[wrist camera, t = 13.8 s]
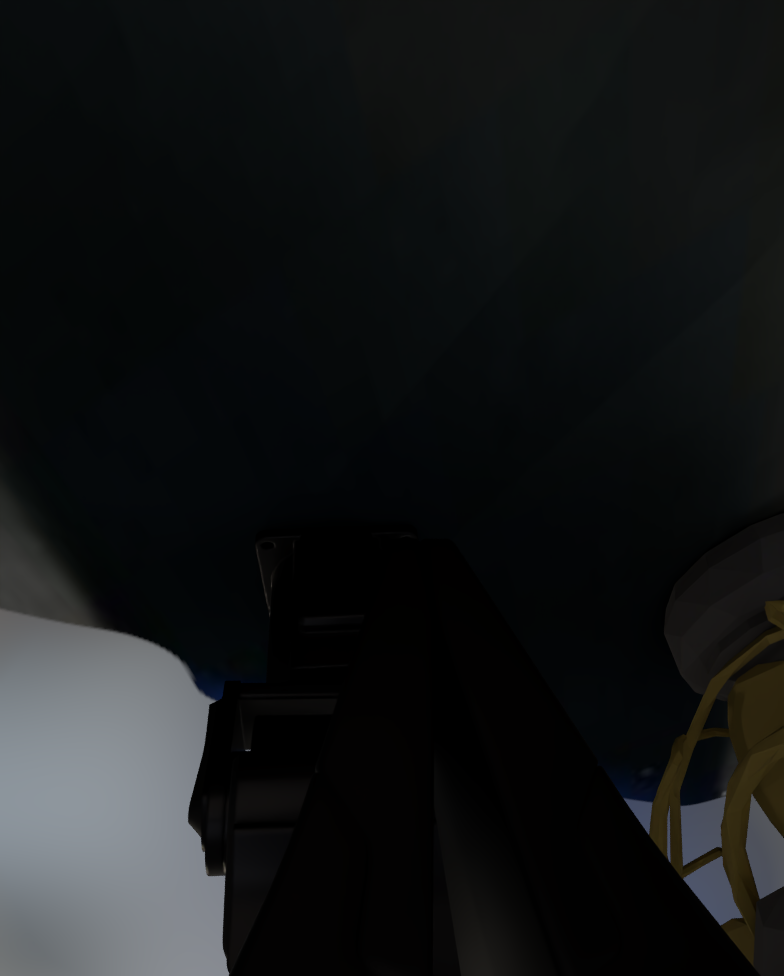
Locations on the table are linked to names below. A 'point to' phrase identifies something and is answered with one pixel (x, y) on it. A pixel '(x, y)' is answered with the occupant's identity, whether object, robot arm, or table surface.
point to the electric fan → (734, 715)
